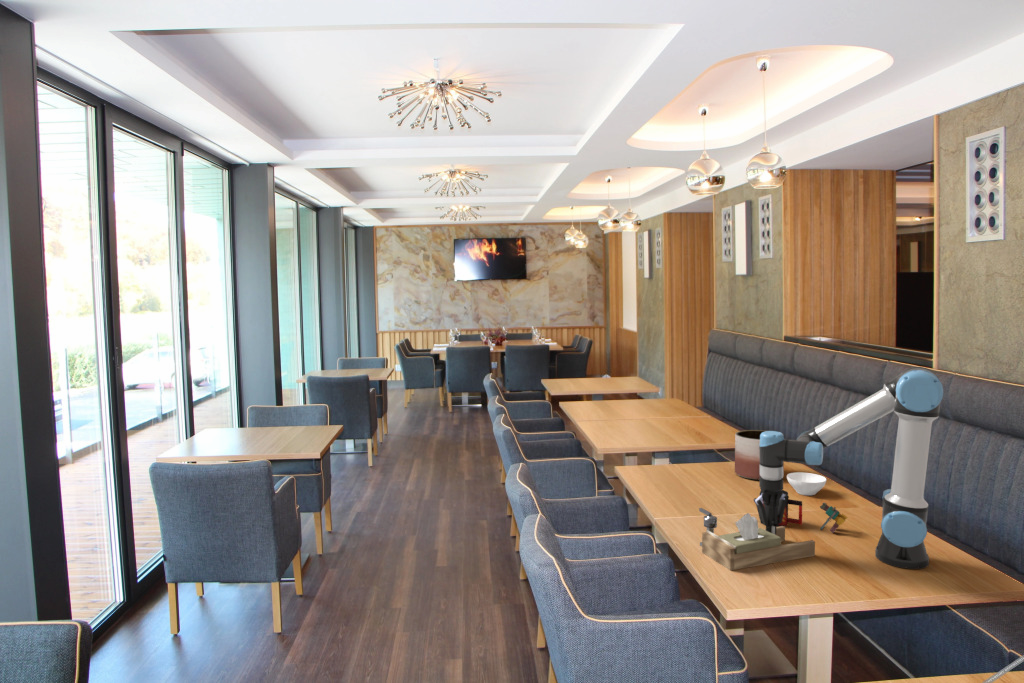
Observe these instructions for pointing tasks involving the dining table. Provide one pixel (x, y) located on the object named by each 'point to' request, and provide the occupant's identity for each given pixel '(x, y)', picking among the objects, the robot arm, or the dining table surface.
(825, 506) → the binoculars
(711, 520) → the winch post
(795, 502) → the mug
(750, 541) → the tissue box
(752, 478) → the planter
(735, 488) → the dining table surface
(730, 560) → the bay
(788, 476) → the bowl
